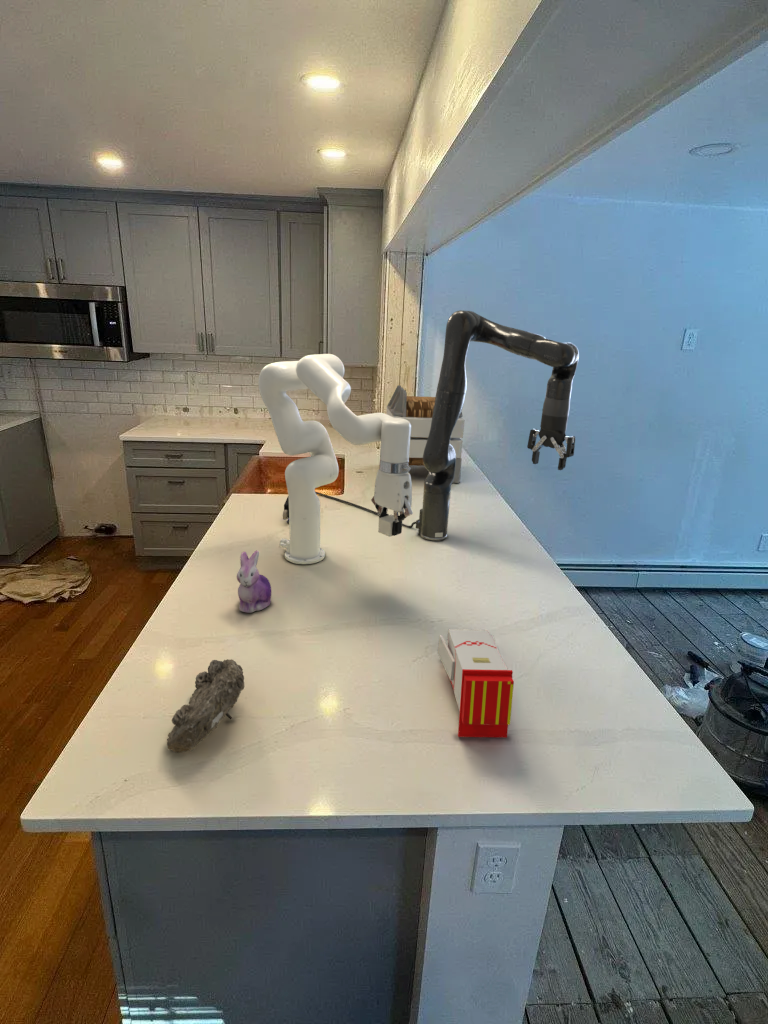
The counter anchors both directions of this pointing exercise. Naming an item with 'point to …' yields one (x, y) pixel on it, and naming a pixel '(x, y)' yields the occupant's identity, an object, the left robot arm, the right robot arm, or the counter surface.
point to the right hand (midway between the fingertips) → (547, 466)
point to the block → (386, 525)
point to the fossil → (206, 705)
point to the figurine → (252, 585)
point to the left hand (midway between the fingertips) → (389, 530)
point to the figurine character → (286, 510)
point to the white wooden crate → (423, 426)
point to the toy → (478, 682)
